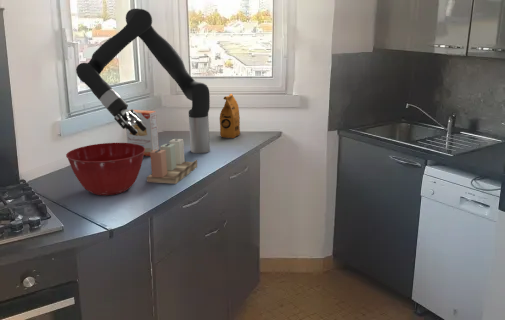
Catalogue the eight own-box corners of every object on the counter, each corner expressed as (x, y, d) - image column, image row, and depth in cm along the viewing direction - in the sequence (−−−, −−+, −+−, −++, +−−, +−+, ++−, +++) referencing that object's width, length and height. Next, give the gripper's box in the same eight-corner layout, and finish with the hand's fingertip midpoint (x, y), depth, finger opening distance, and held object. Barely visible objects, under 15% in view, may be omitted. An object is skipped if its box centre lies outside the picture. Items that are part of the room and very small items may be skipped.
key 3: (152, 176, 203) (150, 151, 200) (157, 173, 207) (155, 148, 204) (162, 177, 202) (160, 152, 199) (167, 173, 206) (165, 149, 203)
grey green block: (161, 170, 211) (160, 146, 209) (166, 166, 216) (164, 143, 213) (171, 170, 210) (170, 146, 207) (176, 167, 214) (174, 143, 211)
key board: (175, 183, 201) (175, 176, 200) (147, 181, 204) (146, 174, 203) (197, 166, 222) (197, 159, 221) (171, 165, 225) (170, 158, 224)
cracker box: (127, 154, 245) (123, 111, 239) (135, 151, 250) (131, 109, 244) (152, 156, 240) (149, 112, 234) (159, 153, 245) (156, 110, 239)
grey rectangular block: (170, 163, 220) (169, 140, 217) (175, 161, 224) (173, 138, 221) (180, 164, 219) (179, 141, 216) (184, 161, 223) (183, 138, 220)
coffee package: (217, 137, 273) (215, 96, 267) (225, 132, 284) (224, 93, 278) (234, 138, 270) (233, 97, 263) (242, 133, 281) (241, 93, 275)
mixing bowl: (110, 174, 215) (107, 138, 210) (163, 184, 201) (160, 146, 196) (55, 195, 192) (49, 155, 187) (110, 208, 177) (105, 165, 173)
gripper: (110, 99, 203) (138, 129, 203) (127, 94, 216) (153, 122, 217) (99, 111, 205) (127, 141, 206) (116, 106, 218) (142, 134, 219)
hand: (140, 132), depth 211 cm, fingers open, 8 cm apart
